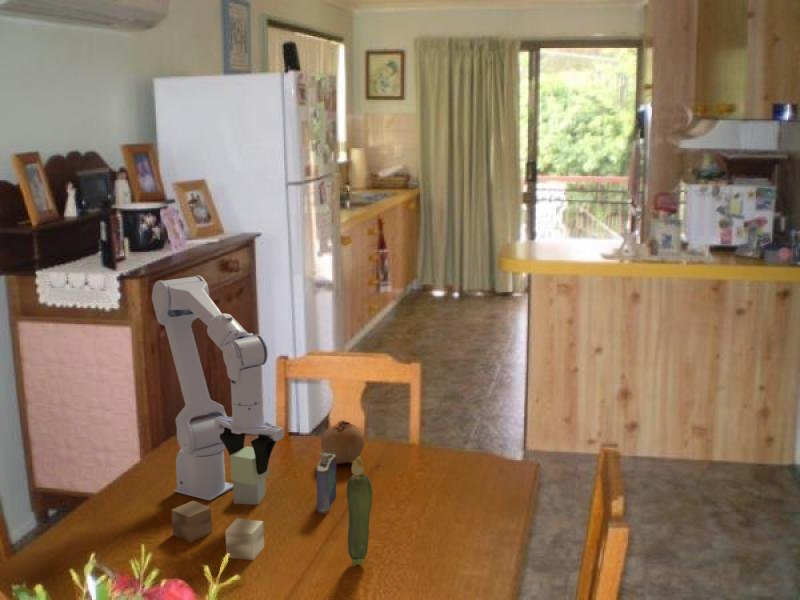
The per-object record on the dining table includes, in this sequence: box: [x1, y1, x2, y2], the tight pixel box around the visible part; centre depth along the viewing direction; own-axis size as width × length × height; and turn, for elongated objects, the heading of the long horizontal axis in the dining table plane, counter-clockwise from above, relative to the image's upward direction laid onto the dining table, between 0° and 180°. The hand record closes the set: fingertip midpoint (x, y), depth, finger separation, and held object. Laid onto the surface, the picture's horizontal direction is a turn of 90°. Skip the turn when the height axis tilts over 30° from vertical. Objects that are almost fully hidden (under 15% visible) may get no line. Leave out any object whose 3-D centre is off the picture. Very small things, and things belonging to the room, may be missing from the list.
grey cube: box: [232, 478, 266, 506], centre depth 178 cm, size 5×5×5 cm
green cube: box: [229, 445, 270, 485], centre depth 167 cm, size 5×5×5 cm
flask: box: [316, 451, 337, 515], centre depth 175 cm, size 9×3×11 cm, turn 172°
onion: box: [320, 420, 365, 465], centre depth 195 cm, size 10×9×10 cm
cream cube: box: [224, 518, 265, 561], centre depth 156 cm, size 5×5×5 cm
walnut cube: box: [170, 500, 213, 544], centre depth 163 cm, size 5×5×5 cm
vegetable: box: [346, 455, 373, 567], centre depth 151 cm, size 4×4×20 cm
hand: (250, 469), depth 168 cm, fingers closed on green cube, 5 cm apart
